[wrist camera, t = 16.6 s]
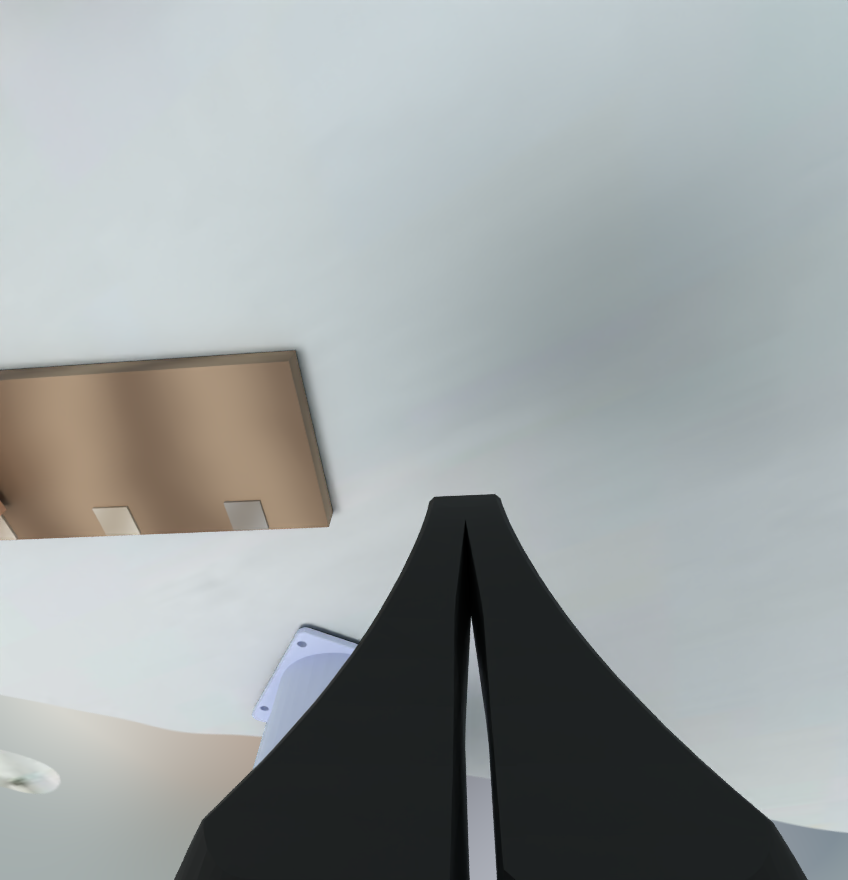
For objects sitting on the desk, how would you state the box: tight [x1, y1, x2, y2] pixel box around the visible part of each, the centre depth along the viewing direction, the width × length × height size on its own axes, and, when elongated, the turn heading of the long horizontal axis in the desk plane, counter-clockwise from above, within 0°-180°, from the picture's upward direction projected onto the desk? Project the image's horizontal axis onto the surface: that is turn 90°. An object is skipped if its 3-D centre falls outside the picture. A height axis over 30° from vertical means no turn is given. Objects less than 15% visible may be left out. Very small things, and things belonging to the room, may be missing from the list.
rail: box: [0, 350, 333, 540], centre depth 23 cm, size 25×8×1 cm, turn 95°
